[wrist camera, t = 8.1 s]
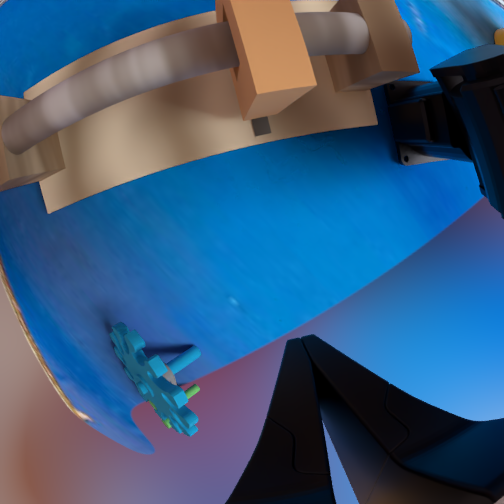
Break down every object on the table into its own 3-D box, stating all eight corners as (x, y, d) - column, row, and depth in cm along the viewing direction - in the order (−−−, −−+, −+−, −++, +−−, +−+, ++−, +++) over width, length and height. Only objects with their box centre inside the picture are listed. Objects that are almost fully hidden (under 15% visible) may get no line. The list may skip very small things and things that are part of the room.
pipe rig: (335, 6, 14) (378, -40, 7) (371, 125, 18) (436, 119, 11) (30, 94, 14) (-31, 84, 7) (54, 210, 18) (-6, 239, 11)
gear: (90, 307, 19) (166, 391, 13) (152, 277, 23) (243, 336, 17) (128, 393, 24) (196, 462, 18) (172, 365, 28) (244, 421, 22)
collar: (249, 14, 13) (264, -59, 6) (277, 114, 15) (317, 85, 8) (216, 20, 13) (212, -53, 6) (242, 121, 15) (256, 94, 8)
